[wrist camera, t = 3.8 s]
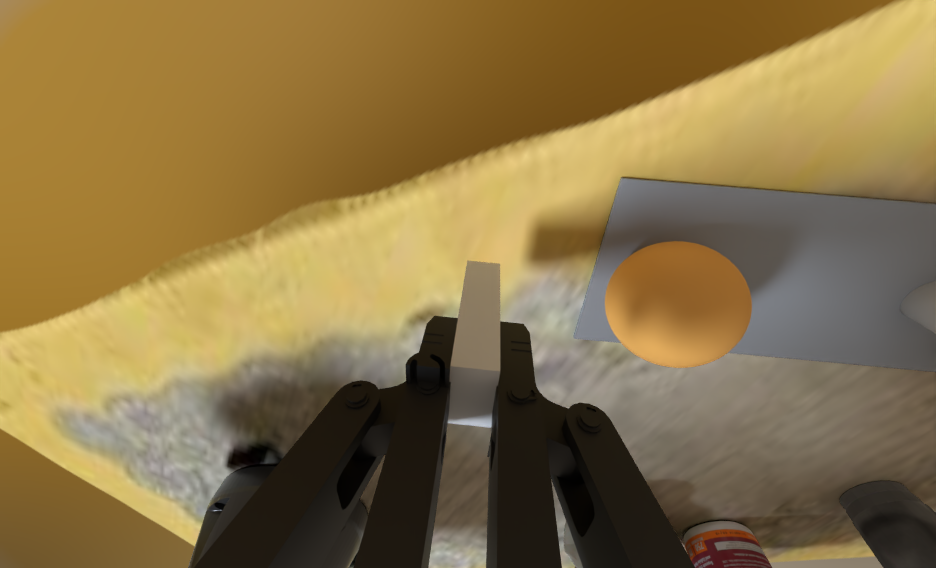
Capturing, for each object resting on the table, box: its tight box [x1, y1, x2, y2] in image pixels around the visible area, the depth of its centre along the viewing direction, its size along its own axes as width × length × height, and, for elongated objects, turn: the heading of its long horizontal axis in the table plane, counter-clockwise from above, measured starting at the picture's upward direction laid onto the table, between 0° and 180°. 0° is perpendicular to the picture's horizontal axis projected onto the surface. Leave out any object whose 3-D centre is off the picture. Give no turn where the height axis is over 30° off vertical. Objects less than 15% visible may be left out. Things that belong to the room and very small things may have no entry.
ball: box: [605, 241, 752, 368], centre depth 17 cm, size 6×6×6 cm
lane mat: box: [574, 177, 936, 372], centre depth 19 cm, size 27×10×1 cm, turn 86°
